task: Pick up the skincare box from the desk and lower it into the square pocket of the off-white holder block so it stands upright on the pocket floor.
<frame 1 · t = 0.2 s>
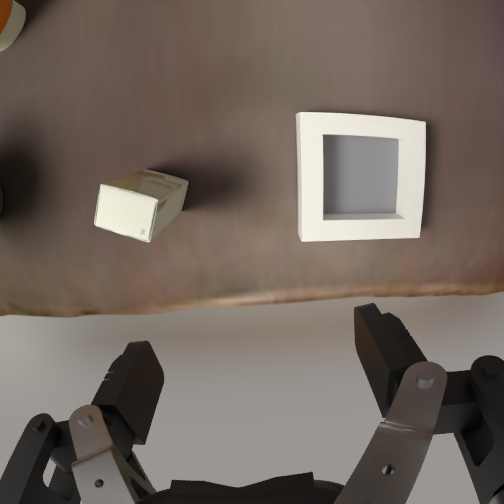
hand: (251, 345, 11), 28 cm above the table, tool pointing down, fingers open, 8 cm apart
skincare box: (162, 189, 37), on the table
holder: (358, 174, 36), on the table
reusable coffee cup: (8, 28, 26), on the table
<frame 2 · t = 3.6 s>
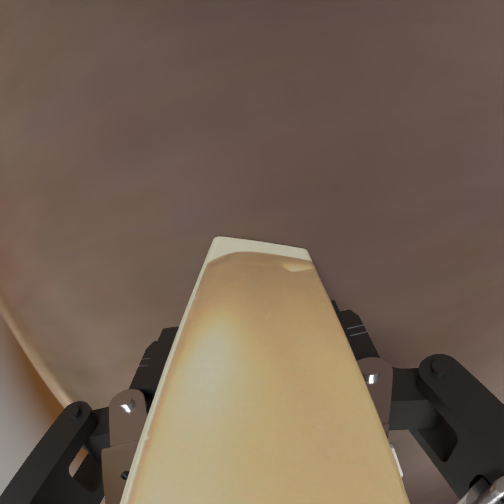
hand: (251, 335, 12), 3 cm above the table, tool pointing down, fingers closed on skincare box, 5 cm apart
skincare box: (252, 296, 15), on the table, touching gripper
when the fingers open (5 cm above the table, at t = 9.9 s): skincare box drops 1 cm, resting on holder.
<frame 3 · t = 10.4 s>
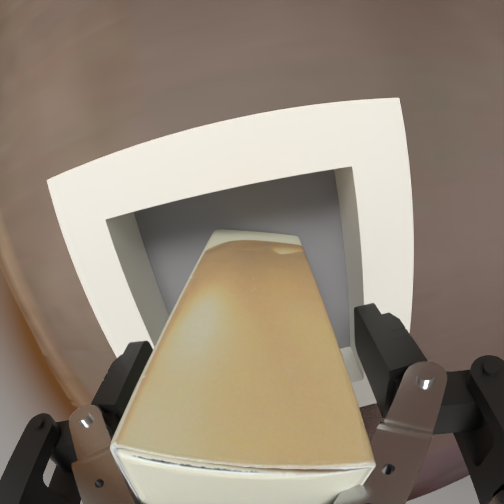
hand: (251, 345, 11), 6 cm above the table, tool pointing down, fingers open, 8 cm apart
skincare box: (252, 282, 16), resting on holder
holder: (251, 280, 16), on the table
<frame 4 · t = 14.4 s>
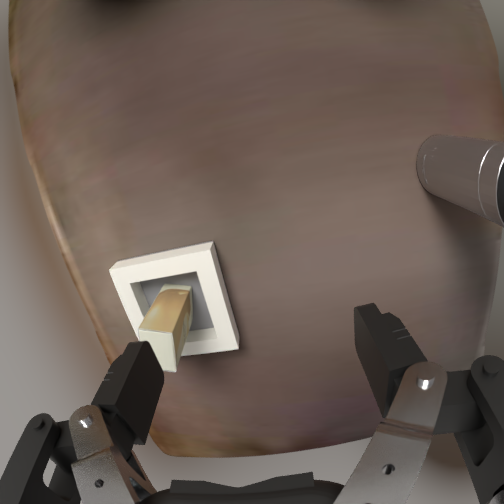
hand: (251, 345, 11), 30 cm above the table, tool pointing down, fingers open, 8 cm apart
skincare box: (178, 300, 45), resting on holder
holder: (179, 299, 45), on the table
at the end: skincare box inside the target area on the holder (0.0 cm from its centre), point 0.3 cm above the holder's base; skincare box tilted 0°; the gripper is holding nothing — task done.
